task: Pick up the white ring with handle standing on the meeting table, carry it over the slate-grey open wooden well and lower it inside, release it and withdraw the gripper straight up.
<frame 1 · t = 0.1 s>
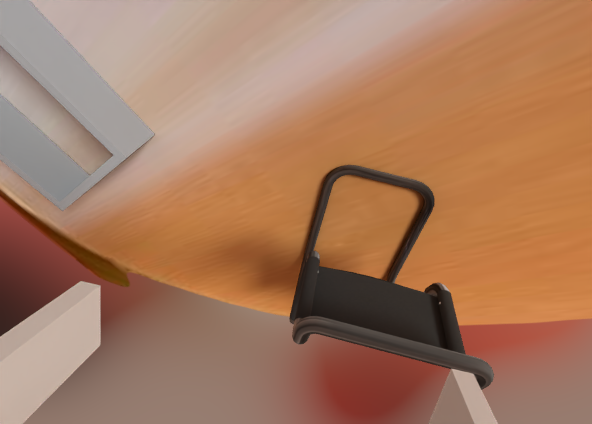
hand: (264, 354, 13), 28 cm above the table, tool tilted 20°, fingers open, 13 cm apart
well: (54, 96, 40), on the table
chair: (363, 228, 44), on the table
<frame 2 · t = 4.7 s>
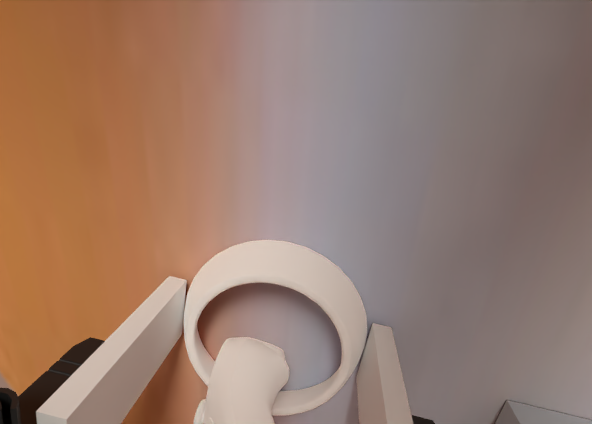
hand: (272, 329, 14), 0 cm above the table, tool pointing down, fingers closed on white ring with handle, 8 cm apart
white ring with handle: (275, 321, 15), on the table, touching gripper
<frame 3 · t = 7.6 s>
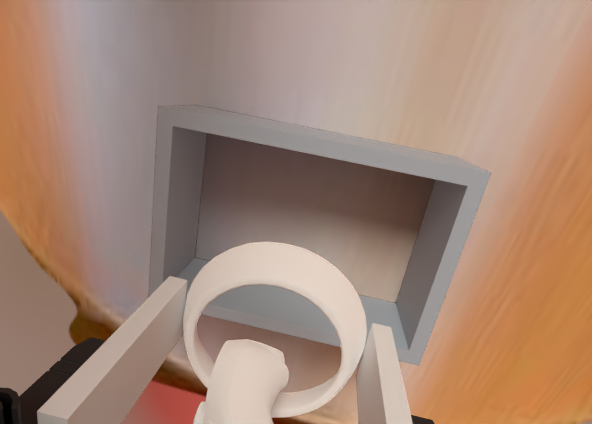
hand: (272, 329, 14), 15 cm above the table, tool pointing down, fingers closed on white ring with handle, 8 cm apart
well: (306, 216, 28), on the table
white ring with handle: (275, 323, 15), point 14 cm above the table, touching gripper
when the fingers open (2 cm above the table, at t = 10.7 s): white ring with handle drops 1 cm, on the table.
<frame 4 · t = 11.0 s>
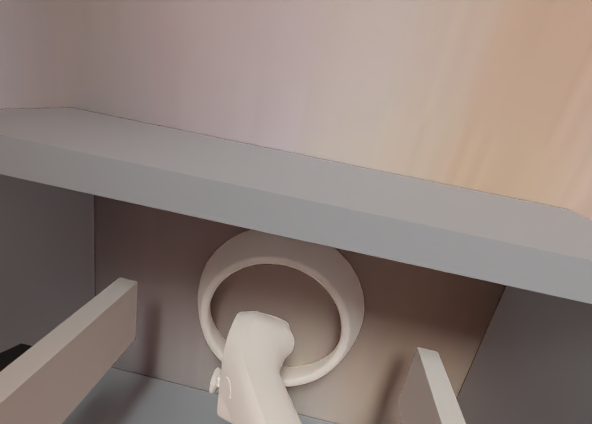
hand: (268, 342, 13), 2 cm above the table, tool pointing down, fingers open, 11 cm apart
well: (279, 306, 16), on the table
white ring with handle: (281, 302, 16), on the table
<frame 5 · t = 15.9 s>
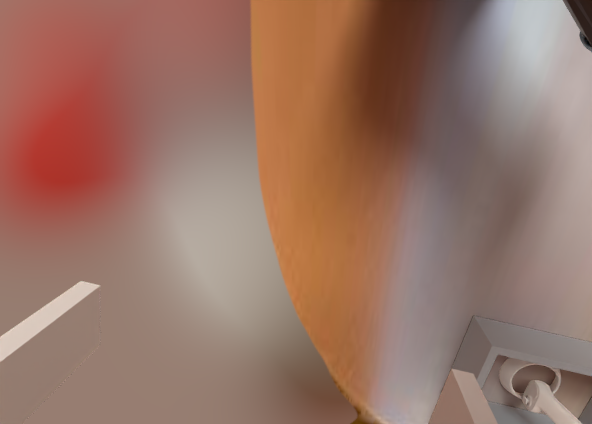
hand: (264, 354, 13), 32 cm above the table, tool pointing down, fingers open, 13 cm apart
well: (528, 374, 47), on the table
white ring with handle: (527, 372, 48), on the table
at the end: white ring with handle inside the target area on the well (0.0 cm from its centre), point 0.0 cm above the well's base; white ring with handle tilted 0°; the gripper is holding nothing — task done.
